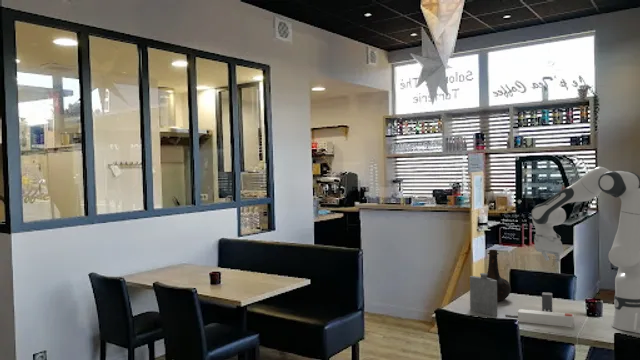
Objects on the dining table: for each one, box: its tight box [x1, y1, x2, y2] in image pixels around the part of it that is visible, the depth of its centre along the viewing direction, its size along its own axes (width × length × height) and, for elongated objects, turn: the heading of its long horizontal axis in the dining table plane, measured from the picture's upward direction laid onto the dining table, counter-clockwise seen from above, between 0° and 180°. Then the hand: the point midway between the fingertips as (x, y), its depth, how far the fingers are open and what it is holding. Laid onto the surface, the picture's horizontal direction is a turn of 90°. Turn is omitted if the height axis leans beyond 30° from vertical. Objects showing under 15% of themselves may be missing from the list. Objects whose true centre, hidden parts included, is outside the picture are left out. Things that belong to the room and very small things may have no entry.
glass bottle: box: [486, 249, 512, 302], centre depth 296 cm, size 18×18×28 cm
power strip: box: [505, 308, 575, 328], centre depth 250 cm, size 6×30×5 cm, turn 64°
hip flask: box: [469, 272, 498, 317], centre depth 269 cm, size 16×4×20 cm, turn 35°
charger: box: [541, 292, 553, 312], centre depth 263 cm, size 7×4×10 cm, turn 154°
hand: (552, 261), depth 271 cm, fingers open, 8 cm apart
